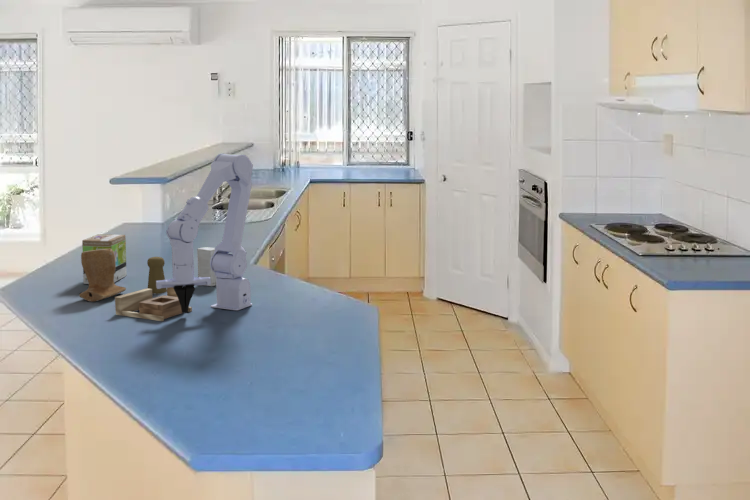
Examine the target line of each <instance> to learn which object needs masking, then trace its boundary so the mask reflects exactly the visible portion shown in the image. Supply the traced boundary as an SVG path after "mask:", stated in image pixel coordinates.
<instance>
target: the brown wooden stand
mask: <svg viewBox="0 0 750 500" xmlns="http://www.w3.org/2000/svg"><path fill="white" fill-rule="evenodd" d="M80 262H81V266H82V270H83V269H84V272H85V274H86V277H87V280H88V283H89V284H88V288H87V289H86V290H85V291H81V293H79V295H78V296H79V297H80V298H82V299H83V300H85V301H88V302H92V303H93V302H98V301H99V302H100V301H102V300H105V299H108V298H110V297H115V296H116V295H118V294H120V293H123V292H125V291H126V290H127V288H126V287H124V286H119V285H116V284H115V282H114V273H115V268H116V263H115V256H114V252H113V250H112V249H110V248H109V249H100V250H91V251H85V252H83V251H82V252H81V255H80Z"/></svg>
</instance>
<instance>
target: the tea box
mask: <svg viewBox="0 0 750 500" xmlns="http://www.w3.org/2000/svg"><path fill="white" fill-rule="evenodd" d="M81 244H82V252H85V251H91V250H100V249H109V248H110V249H112V250H113V252H114V256H115V263H116V268H115V273H114V283H117V282H118V281H119V280H121V279H123V278H126V276H127V272H128V271H127V240H126V234H111V233H109V234H96V235H92V236H90V237H88V238H86V239H83V240H82V243H81ZM82 270H83V271H82V274H83V275H82V277H83V285H89V283H88V280H87V277H86V274H85V272H84V269H83V268H82Z"/></svg>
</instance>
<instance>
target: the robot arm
mask: <svg viewBox="0 0 750 500" xmlns="http://www.w3.org/2000/svg"><path fill="white" fill-rule="evenodd" d="M253 166H254V164H253V162H252V161H251V160H250V158H249V157H248V156H247V155H246V154H229V153H222V152H221V153H218V154H217V155H216V156H215V157H214V159H213V161H212V162H211V164H210V171H209V173H208V175H207V177H206V178H205V180H204V183H203V184H202V186H201V188H200V189H199V191H198V193H197V195H196V196H192V197H190V198H189V199H187V200H186V203H185V206H184V208H183V209H182V210H181V211H180V213H179V214H178V215H177V218H176V219H174V220H172V221H171V222H170V223H169V225H168V226H167V230H166V231H165V233H166V236H167V239H169V243H170V244H169V245H170V246H171V261H172V263H171V264H172V265H171V266H172V278H166V279H165V280H159V281H156V288H157V289H161V288H170V287H173V289H174V291H175V293H176V295H177V297H178V299H179V302H180V305H181V310H182V313H181V314H188V313H189V312H188V307H190V303H191V300H192V297H193V295H194V293H195V292H196V291H195V290H196V288H195V287H196V286H205V285H211V278H210V277H197V276H196V277H195V266H194V265H195V262H194V261H195V260H194V258H195V257H194V240H195V239H196V238H197V236H198V232H199V230H198V229H199V225H200V223H201V221H202V220H203V218H204V217H205V215H206V214H207V213H208V210H209V201H210V200H211V199H212V198H213V196H214V195H215V193H216V192H217V191H218V190H219V189H220V187H221V185H222V184H223V183H225V182H227V184H228V185H229V186H230V188H231V189H230V190H231V191H230V196H229V202H228V206H227V211H226V212H227V213H226V217H225V223H224V227H223V229H224V230H223V234H222V235H223V236H222V240H221V242H220V243H219V244H217V245H216V246H215V247H214V248H215V251H214V254H213V256H212V257H211V260H210V267H211V269H212V271H213V272H214V275H215V276H216V285H215V288H216V291H215V292H216V303H214V304H211V305H210V308H214V309H221V310H222V309H223V310H231V311H240V310H242V309H246V308H249V307H251V306H253V303H252V298H251V297H252V296H251V295H252V293H251V290H252V289H251V282H250V280H249V279H248V278H246V277H244V274H245V273H246V271H247V267H248V262H247V251H246V250H245V248H244V247H243V246H242V241H243V235H244V230H245V224H246V220H247V212H248V207H249V202H250V197H251V192H252V191H251V190H252V184H253V183H252V173H253Z"/></svg>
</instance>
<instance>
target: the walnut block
mask: <svg viewBox="0 0 750 500" xmlns="http://www.w3.org/2000/svg"><path fill="white" fill-rule="evenodd" d="M138 311H139V313H144V314H151V315H158V316H164V320H166V319H168V318H171V317H175V316H178V315H181V314H183V313H182V310H181V305H180V302H179V299H178V297H174V296H167V294H166V295H164V294H162V295H160V296H156V297H153V298H152V299H149V300H145V301H142V302H139V310H138Z"/></svg>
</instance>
